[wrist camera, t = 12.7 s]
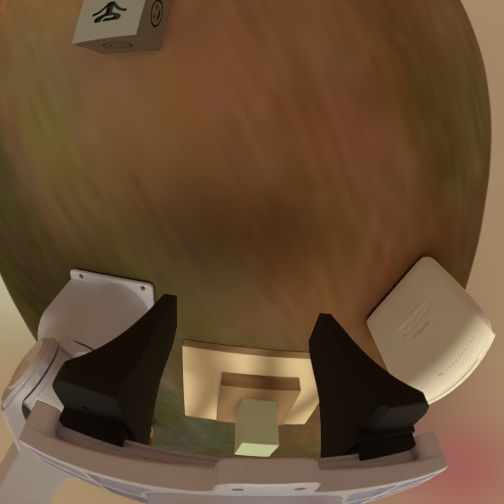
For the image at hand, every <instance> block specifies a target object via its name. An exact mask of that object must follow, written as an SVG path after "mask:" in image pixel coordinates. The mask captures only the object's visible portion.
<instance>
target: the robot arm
mask: <svg viewBox="0 0 504 504" xmlns="http://www.w3.org/2000/svg"><path fill="white" fill-rule="evenodd" d="M70 274H71V280H70V281H69V282H68V283H67V284H66V286H65V287H64V288H63V289H62V290H61V291H60V293H59V294H58V295H57V296H56V297H55V299H54V300H53V301H52V302H51V304H50V305H49V306H48V307H47V309H46V310H45V311H44V313H43V315H42V317H41V320H40V323H39V328H38V342H37V343H36V344H35V345H34V346H33V347H32V348H31V349H30V350H29V352H28V353H27V354H26V355H25V357H24V358H23V359H22V361H21V362H20V364H19V365H18V367H17V368H16V370H15V372H14V374H13V376H12V378H11V380H10V382H9V384H8V386H7V387H6V389H5V390H4V392H3V395H2V405H1V411H2V414H3V417H4V419H5V422H6V424H7V427H8V429H9V431H10V434H11V436H12V438H13V440H14V442H13V443H12V445H11V447H10V448H9V450H8V452H7V454H6V455H5V457H4V459H3V461H2V462H1V464H0V504H50V503H51V502H52V500H53V498H54V497H55V495H56V493H57V492H58V490H59V489H60V487H61V486H62V484H63V482H64V481H65V480H72V479H80V480H82V481H85V482H87V483H89V484H92V485H94V486H96V487H99V488H101V489H104V490H106V491H109V492H112V493H114V494H117V495H120V496H123V497H126V498H129V499H132V500H135V501H139V502H142V503H146V504H362V503H366V502H370V501H373V500H376V499H380V498H383V497H386V496H389V495H392V494H395V493H398V492H401V491H404V490H407V489H410V488H412V487H415V486H418V485H420V484H421V483H423V482H425V481H427V480H428V479H430V478H432V477H433V476H435V475H437V474H438V473H440V472H441V471H443V470H445V469H446V468H447V464H446V461H445V458H444V455H443V452H442V450H441V447H440V444H439V441H438V439H437V436H436V434H435V431H431V432H428V433H424V434H421V435H418V436H416V437H413V435H412V433H414V431H415V429H414V426H413V425H414V424H415V423H416V422H417V421H418V420H419V419H421V418H422V417H423V415H424V414H425V413H426V412H427V410H428V408H429V404H428V402H427V400H426V398H425V395H424V393H423V392H422V391H420V390H418V389H415V388H413V387H411V386H409V385H407V384H406V383H404V382H402V381H400V380H399V379H397V378H396V377H394V376H393V375H391V374H390V373H388V372H387V371H386V370H384V369H383V368H382V367H380V366H379V365H378V364H377V363H375V362H374V361H373V360H372V359H371V358H370V357H369V356H368V355H367V354H366V353H365V352H364V351H363V350H362V349H361V348H360V347H359V346H358V345H357V344H356V343H355V342H354V341H353V340H352V339H351V337H350V336H349V335H348V334H347V333H346V332H345V330H344V329H343V328H342V327H341V326H340V324H339V323H338V322H337V321H336V320H335V318H334V317H333V316H332V315H331V314H324V313H320V314H319V316H318V319H317V322H316V324H315V327H314V329H313V332H312V334H311V337H310V339H309V352H310V360H311V365H312V369H313V374H314V378H315V382H316V387H317V391H318V397H319V406H320V419H321V458H315V459H312V458H250V457H230V458H222V457H212V456H204V455H197V454H190V453H184V452H178V451H172V450H167V449H162V448H158V447H153V446H149V442H150V433H151V426H152V420H153V413H154V408H155V402H156V397H157V392H158V388H159V383H160V380H161V377H162V374H163V371H164V368H165V365H166V362H167V359H168V356H169V354H170V351H171V348H172V345H173V342H174V337H175V333H176V328H177V296H175V295H169V294H164V295H163V296H162V297H161V298H160V299H159V300H158V301H157V302H156V303H155V304H154V288H153V285H152V284H150V283H147V282H141V281H135V280H129V279H124V278H118V277H113V276H108V275H103V274H97V273H92V272H87V271H83V270H78V269H72V270H71V272H70ZM81 274H82V275H83V276H82V275H81ZM142 286H144V287H145V288H143V287H142Z"/></svg>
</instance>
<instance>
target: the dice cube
mask: <svg viewBox="0 0 504 504" xmlns="http://www.w3.org/2000/svg"><path fill="white" fill-rule="evenodd" d="M172 1H173V0H84V3H83V6H82V9H81V12H80V16H79V19H78V22H77V26H76V30H75V33H74V37H73V41H72V44H73V45H77V46H81V47H84V48H87V49H91V50H94V51H97V52H100V53H104V54H107V53H116V52H128V51H145V50H160V48H161V44H162V39H163V35H164V31H165V27H166V23H167V19H168V15H169V12H170V8H171V5H172Z"/></svg>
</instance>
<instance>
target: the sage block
mask: <svg viewBox="0 0 504 504" xmlns="http://www.w3.org/2000/svg"><path fill="white" fill-rule="evenodd" d="M278 446H279V435H278V420H277V406H276V402H273V401H263V400H254V399H246V398H243V399H242V401H241V403H240V406H239V408H238V410H237V412H236V426H235V454H238V455H249V456H266V457H268V456H269V455H270V454H271V453H272V452H273V451H274V450H275V449H276V448H277V447H278Z"/></svg>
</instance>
